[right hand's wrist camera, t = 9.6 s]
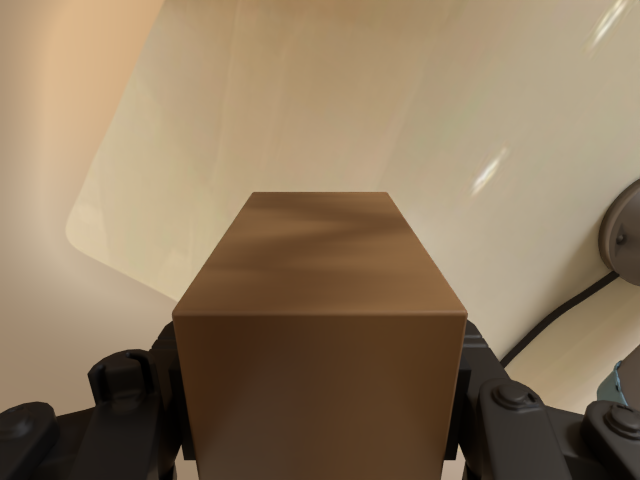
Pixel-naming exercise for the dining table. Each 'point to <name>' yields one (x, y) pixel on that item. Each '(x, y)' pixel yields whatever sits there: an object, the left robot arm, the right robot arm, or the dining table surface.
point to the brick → (319, 344)
